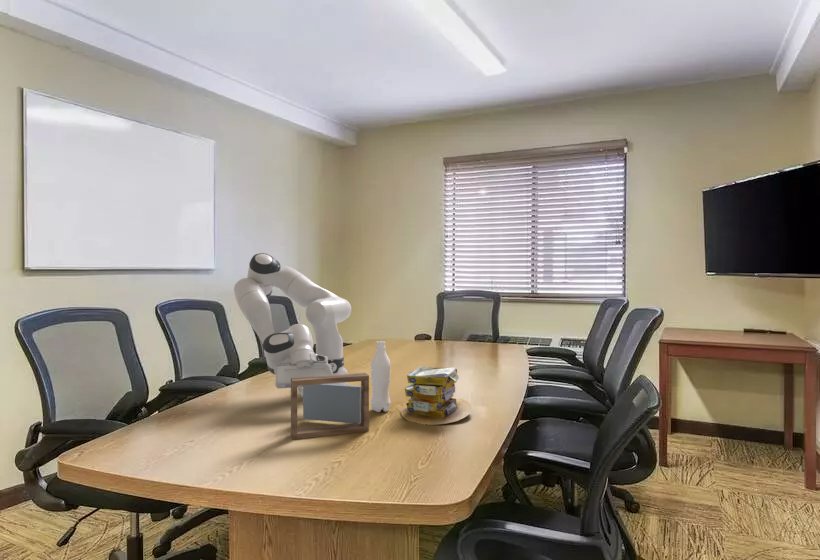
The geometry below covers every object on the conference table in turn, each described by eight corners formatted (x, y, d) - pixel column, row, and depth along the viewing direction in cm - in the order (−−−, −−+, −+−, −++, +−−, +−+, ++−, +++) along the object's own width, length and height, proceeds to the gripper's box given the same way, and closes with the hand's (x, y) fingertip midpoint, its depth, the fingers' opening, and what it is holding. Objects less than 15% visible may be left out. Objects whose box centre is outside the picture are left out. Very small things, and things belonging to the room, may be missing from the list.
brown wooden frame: (290, 434, 155) (290, 377, 154) (365, 426, 163) (365, 372, 162) (292, 439, 150) (292, 380, 150) (368, 430, 159) (368, 375, 158)
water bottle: (393, 408, 184) (393, 340, 183) (386, 414, 177) (386, 343, 177) (375, 407, 186) (375, 339, 186) (367, 412, 179) (367, 342, 179)
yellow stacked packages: (441, 430, 160) (442, 378, 159) (386, 414, 176) (386, 367, 176) (485, 414, 178) (485, 367, 178) (431, 401, 195) (431, 358, 194)
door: (305, 417, 169) (305, 382, 169) (361, 422, 164) (361, 386, 164) (303, 419, 168) (303, 383, 167) (359, 424, 162) (359, 387, 162)
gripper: (274, 359, 177) (275, 393, 168) (331, 356, 184) (336, 389, 175) (273, 369, 181) (274, 403, 172) (329, 366, 188) (333, 399, 179)
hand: (306, 396), depth 174 cm, fingers closed
